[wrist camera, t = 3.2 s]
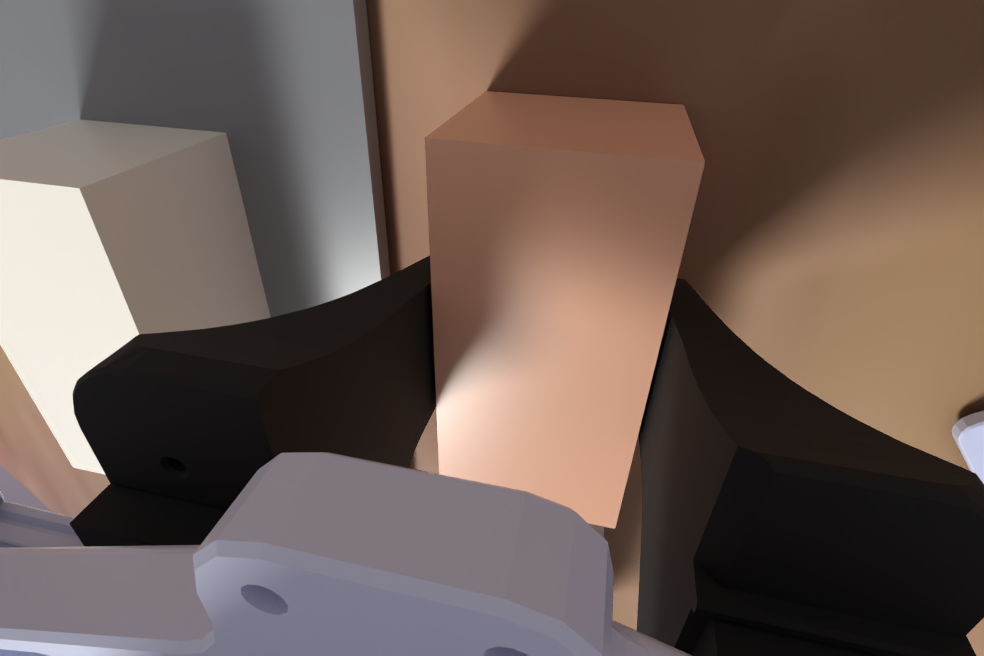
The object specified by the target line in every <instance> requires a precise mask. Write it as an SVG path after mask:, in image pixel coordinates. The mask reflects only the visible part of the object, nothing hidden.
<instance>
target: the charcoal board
mask: <svg viewBox="0 0 984 656" xmlns="http://www.w3.org/2000/svg"><path fill="white" fill-rule="evenodd" d="M80 119H81V120H92V121H103V122H114V123H125V124H136V125H147V126H158V127H169V128H180V129H191V130H202V131H213V132H224V133H226V134H227V138H228V143H229V147H230V151H231V155H232V159H233V163H234V168H235V172H236V176H237V180H238V184H239V188H240V192H241V197H242V201H243V205H244V209H245V213H246V217H247V221H248V226H249V230H250V234H251V238H252V242H253V246H254V250H255V255H256V259H257V263H258V267H259V271H260V275H261V279H262V284H263V288H264V292H265V296H266V300H267V304H268V308H269V313H270V317H275V316H279V315H283V314H287V313H291V312H295V311H299V310H303V309H307V308H310V307H314V306H317V305H320V304H323V303H326V302H329V301H332V300H335V299H338V298H340V297H343V296H346V295H348V294H351V293H353V292H356V291H358V290H360V289H362V288H364V287H367V286H369V285H371V284H373V283H376V282H378V281H380V280H382V279H385V278H387V277H389V276H391V275H390V264H389V253H388V242H387V231H386V219H385V208H384V197H383V186H382V175H381V164H380V152H379V141H378V130H377V119H376V108H375V96H374V85H373V74H372V63H371V52H370V40H369V29H368V18H367V7H366V0H0V140H2V139H5V138H9V137H13V136H17V135H21V134H25V133H29V132H33V131H37V130H41V129H45V128H48V127H52V126H56V125H60V124H64V123H68V122H72V121H76V120H80Z"/></svg>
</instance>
